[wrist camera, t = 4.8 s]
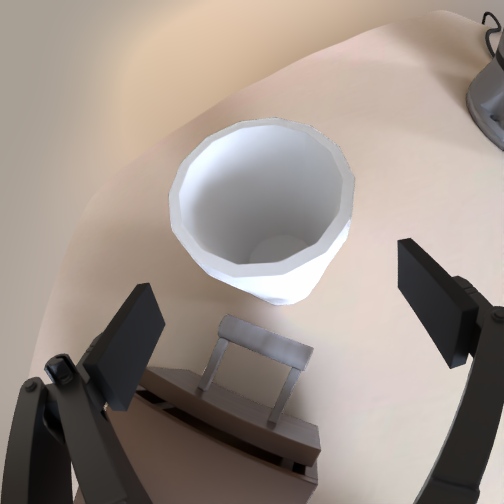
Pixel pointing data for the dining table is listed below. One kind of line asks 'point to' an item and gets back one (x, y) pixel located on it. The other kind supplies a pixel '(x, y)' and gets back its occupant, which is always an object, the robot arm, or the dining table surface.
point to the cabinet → (199, 462)
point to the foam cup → (264, 206)
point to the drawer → (241, 399)
